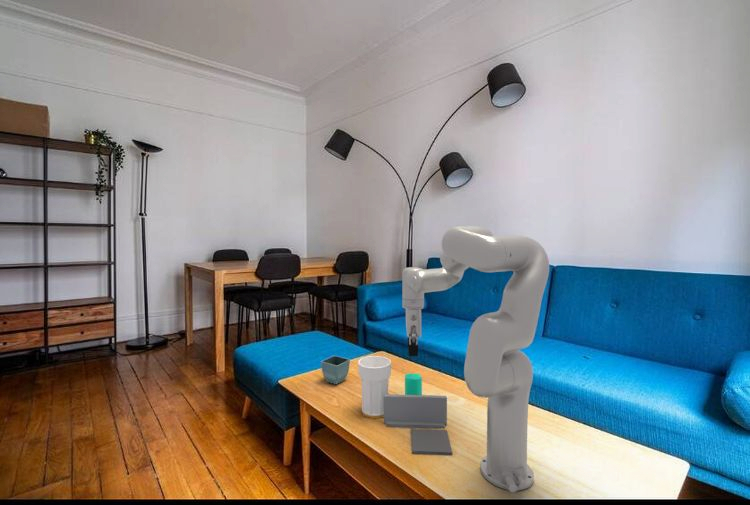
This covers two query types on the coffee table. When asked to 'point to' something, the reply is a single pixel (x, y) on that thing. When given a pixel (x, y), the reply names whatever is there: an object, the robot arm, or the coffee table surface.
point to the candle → (413, 384)
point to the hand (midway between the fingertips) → (412, 350)
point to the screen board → (415, 411)
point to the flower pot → (335, 369)
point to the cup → (374, 384)
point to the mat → (430, 442)
